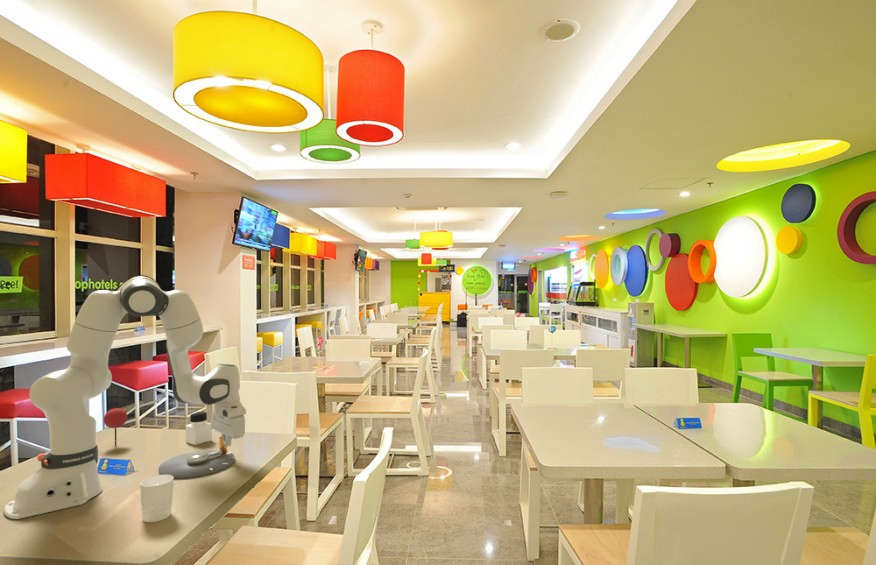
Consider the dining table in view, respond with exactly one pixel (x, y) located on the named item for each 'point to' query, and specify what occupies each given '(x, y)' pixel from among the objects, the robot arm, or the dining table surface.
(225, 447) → the dial
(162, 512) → the white cup
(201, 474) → the dial plate
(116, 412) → the lollipop
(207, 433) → the white square bottle
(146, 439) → the dining table surface
